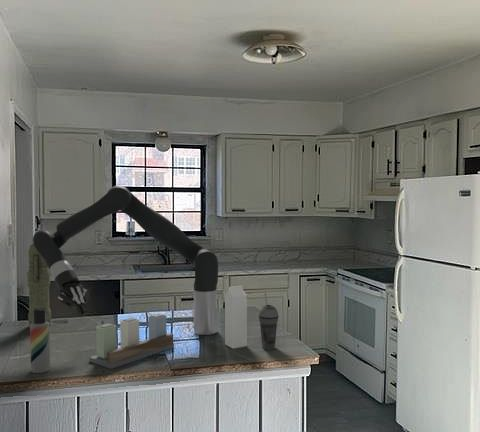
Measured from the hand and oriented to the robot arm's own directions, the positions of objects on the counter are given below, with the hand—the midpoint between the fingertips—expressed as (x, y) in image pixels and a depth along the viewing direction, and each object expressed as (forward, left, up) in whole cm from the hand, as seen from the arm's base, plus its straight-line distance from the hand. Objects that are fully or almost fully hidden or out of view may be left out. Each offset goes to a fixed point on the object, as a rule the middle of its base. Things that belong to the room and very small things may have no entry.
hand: (84, 314), depth 177 cm
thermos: (+15, -45, -14) cm, 50 cm away
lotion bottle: (+15, +12, -14) cm, 24 cm away
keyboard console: (-15, +7, -14) cm, 22 cm away
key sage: (-6, +10, -12) cm, 17 cm away
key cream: (-15, +5, -12) cm, 20 cm away
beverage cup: (-62, +18, -14) cm, 66 cm away
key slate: (-25, +3, -12) cm, 28 cm away
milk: (-52, +11, -14) cm, 55 cm away
